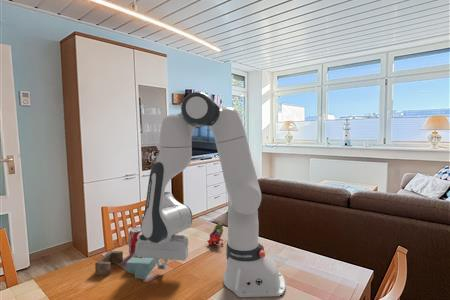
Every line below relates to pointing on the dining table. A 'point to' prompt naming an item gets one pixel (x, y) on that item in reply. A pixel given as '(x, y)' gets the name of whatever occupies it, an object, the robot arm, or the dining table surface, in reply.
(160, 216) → the robot arm
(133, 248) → the soda can
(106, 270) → the bracket
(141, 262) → the t block
